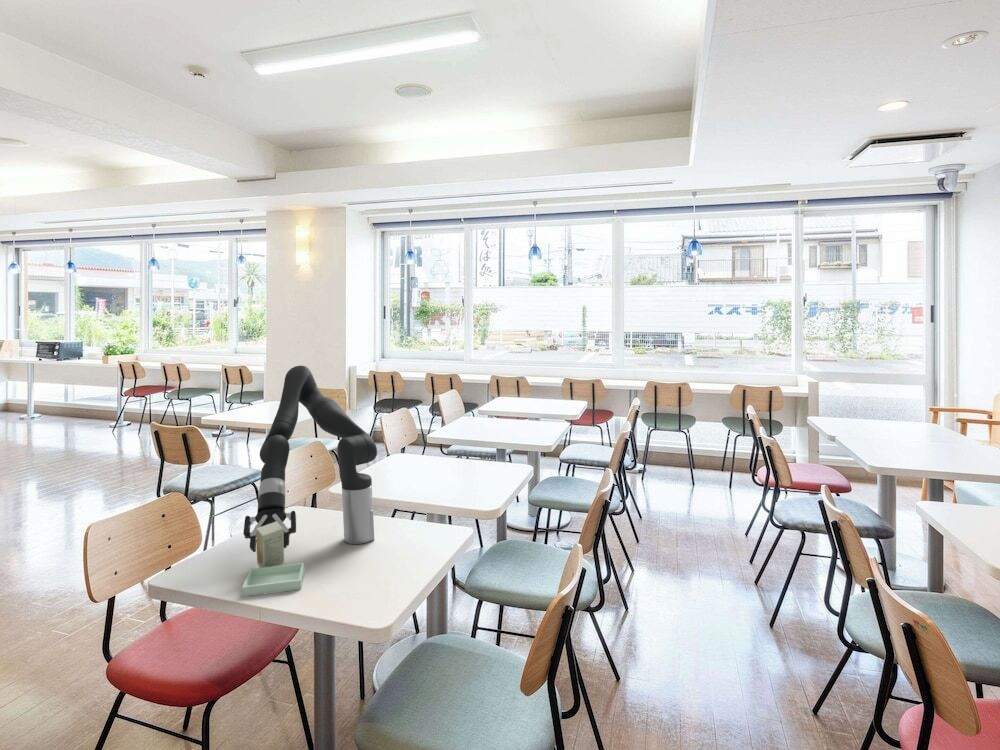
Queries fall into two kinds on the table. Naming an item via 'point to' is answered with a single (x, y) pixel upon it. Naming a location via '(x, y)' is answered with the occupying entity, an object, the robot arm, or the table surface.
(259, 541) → the skincare box
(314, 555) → the table surface
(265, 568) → the tray
